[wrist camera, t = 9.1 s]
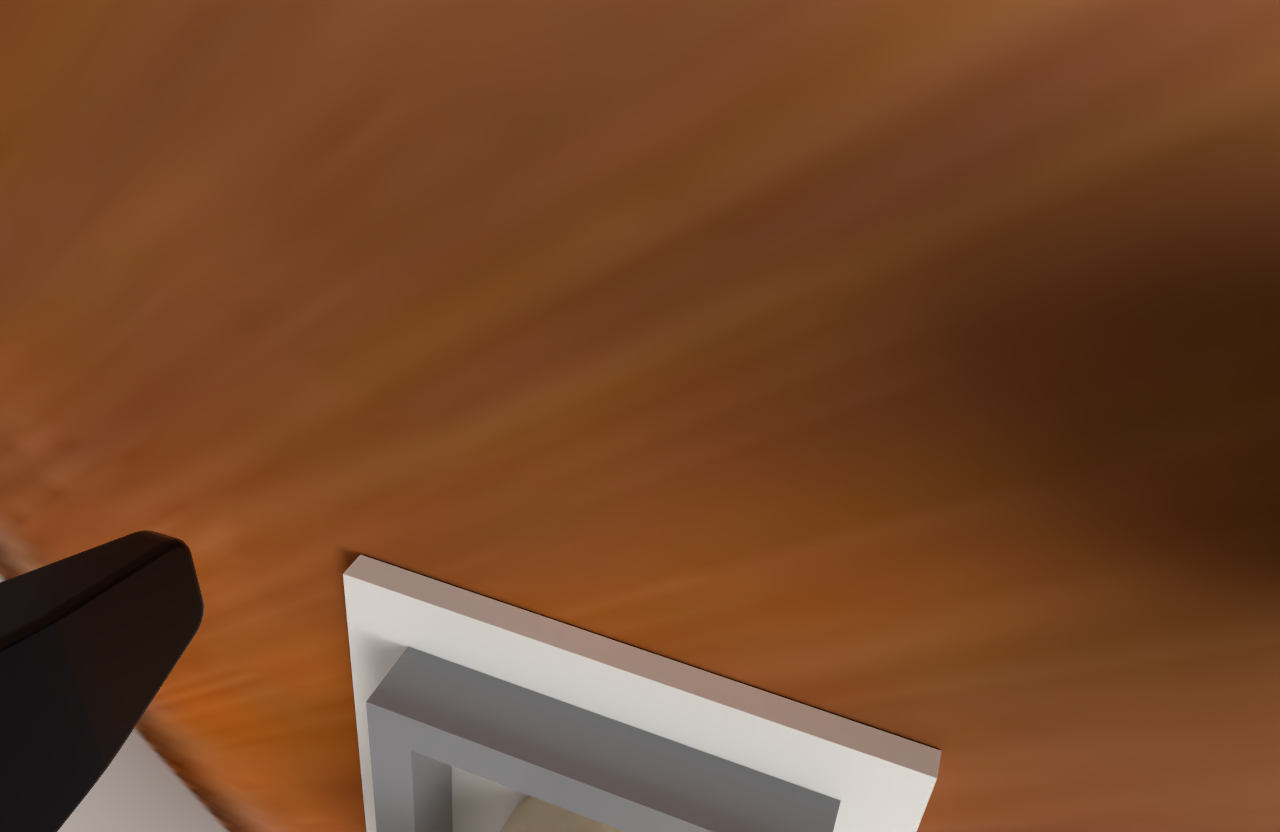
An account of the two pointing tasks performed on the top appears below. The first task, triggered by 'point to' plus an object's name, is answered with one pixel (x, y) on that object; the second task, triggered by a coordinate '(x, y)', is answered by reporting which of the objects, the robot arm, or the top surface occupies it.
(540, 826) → the candle
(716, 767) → the candle tray
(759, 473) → the top surface
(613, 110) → the top surface
